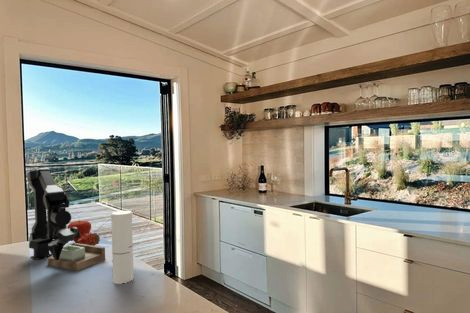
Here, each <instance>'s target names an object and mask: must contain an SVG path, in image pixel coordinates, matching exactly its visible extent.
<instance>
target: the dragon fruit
mask: <svg viewBox="0 0 470 313" xmlns="http://www.w3.org/2000/svg"><path fill="white" fill-rule="evenodd" d="M100 238H101V237H100V235H99V234H97V232H91V231H90V233H89V234H86V233H84V234H83V235H82V236H80V238H79V240H78V241H77V242H75V243H79V244H86V245H93V246H97V245H98V244H99V243H100Z"/></svg>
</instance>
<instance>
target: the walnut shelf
mask: <svg viewBox="0 0 470 313" xmlns="http://www.w3.org/2000/svg"><path fill="white" fill-rule="evenodd" d="M72 246H79V247H85V257H83V258H81V259H78V260H75V261H68V260H62V259H59V260H57V261H56V260H55V259H54V257H53V256H52V255H51V256H48V257H47V266H51V267H56V268H62V269H65V270H70V271H76V272H79V271H81V270H83V269H86V268H88V267H90V266H91V267H92V266H94V265H96V264H98V263H100V262H103V261H105V260H106V248H105V246H98V245H95V246H93V245H86V244H79V243H76V242H75V243H73V245H72Z"/></svg>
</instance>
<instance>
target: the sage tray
mask: <svg viewBox="0 0 470 313" xmlns="http://www.w3.org/2000/svg"><path fill="white" fill-rule="evenodd" d="M83 257H85V247H79V246H73V245H70V244H66V245H64V247H63V249H62V251H61V254H60V257H59V259H62V260H68V261H75V260H78V259H81V258H83Z"/></svg>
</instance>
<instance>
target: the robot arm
mask: <svg viewBox="0 0 470 313" xmlns="http://www.w3.org/2000/svg"><path fill="white" fill-rule="evenodd" d="M26 179H27V182H28V185H29V186H30V188H31V189H32V190H33V202H34V203H33V205H34V218H35V221H34V224H33V225H32V227H31V232H30V235H29V238H28V248H29V249H32V251H33V255H30V259H34V260H43V259H45V258H49V257H52V256H53V257H54V259H55V260H56V261H57V260H59V257H60V254H61V251H62V249H63V247H64V246H66V245H67V244H68V243H69V242H72V241H73V238H74V239H76V238H80V232H79V231H78V230H77V228H76V227H73V228H71V229H70V228H69V229H67V227H68V225H69V224H70V223H71V220H72V214H71V213H70V211H68V210H67V208H70V200H69V198H68V196H67V194H66V192H65V191H64V190H63V188H62V187H59V186H57V183H56V181H55V179H54V178H53V175H52V172H51V169H50V168H48V167H43V168H42V167H41V168H36V169H35V170H30V171H28V172H27V174H26ZM73 242H74V241H73Z"/></svg>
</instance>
